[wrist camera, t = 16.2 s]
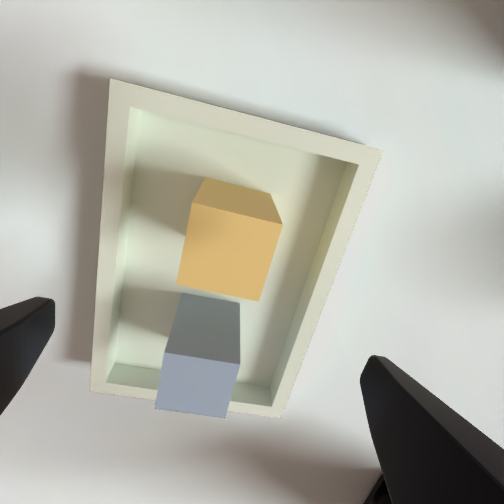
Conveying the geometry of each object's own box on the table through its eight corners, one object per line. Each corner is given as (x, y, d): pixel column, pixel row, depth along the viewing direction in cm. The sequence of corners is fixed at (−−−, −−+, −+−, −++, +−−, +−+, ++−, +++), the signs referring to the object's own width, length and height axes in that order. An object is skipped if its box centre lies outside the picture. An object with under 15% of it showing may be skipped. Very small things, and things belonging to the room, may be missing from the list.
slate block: (228, 348, 24) (224, 418, 18) (174, 339, 23) (154, 408, 18) (239, 303, 22) (240, 364, 17) (182, 292, 22) (163, 352, 16)
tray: (277, 392, 27) (281, 418, 24) (103, 365, 25) (89, 391, 23) (366, 145, 19) (383, 150, 17) (127, 82, 17) (110, 77, 15)
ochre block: (253, 252, 21) (258, 301, 16) (192, 238, 20) (176, 284, 15) (270, 193, 20) (283, 224, 14) (205, 177, 19) (192, 202, 13)
